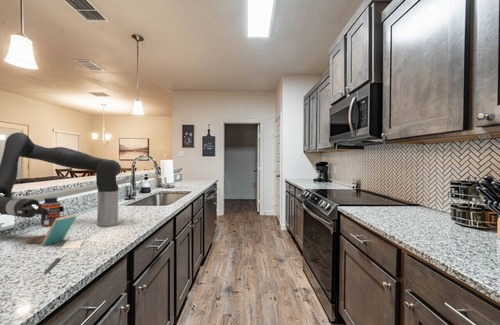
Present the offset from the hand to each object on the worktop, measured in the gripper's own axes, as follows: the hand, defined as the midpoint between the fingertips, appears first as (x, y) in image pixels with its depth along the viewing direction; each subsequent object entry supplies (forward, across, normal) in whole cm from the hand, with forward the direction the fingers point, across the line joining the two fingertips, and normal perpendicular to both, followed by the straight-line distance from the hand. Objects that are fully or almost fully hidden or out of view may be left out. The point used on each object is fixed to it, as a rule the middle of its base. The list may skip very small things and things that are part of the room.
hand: (55, 210), depth 104 cm
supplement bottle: (-2, 0, +6) cm, 7 cm away
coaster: (-8, 0, +13) cm, 15 cm away
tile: (-1, 0, +12) cm, 12 cm away
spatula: (+16, -10, +13) cm, 23 cm away
